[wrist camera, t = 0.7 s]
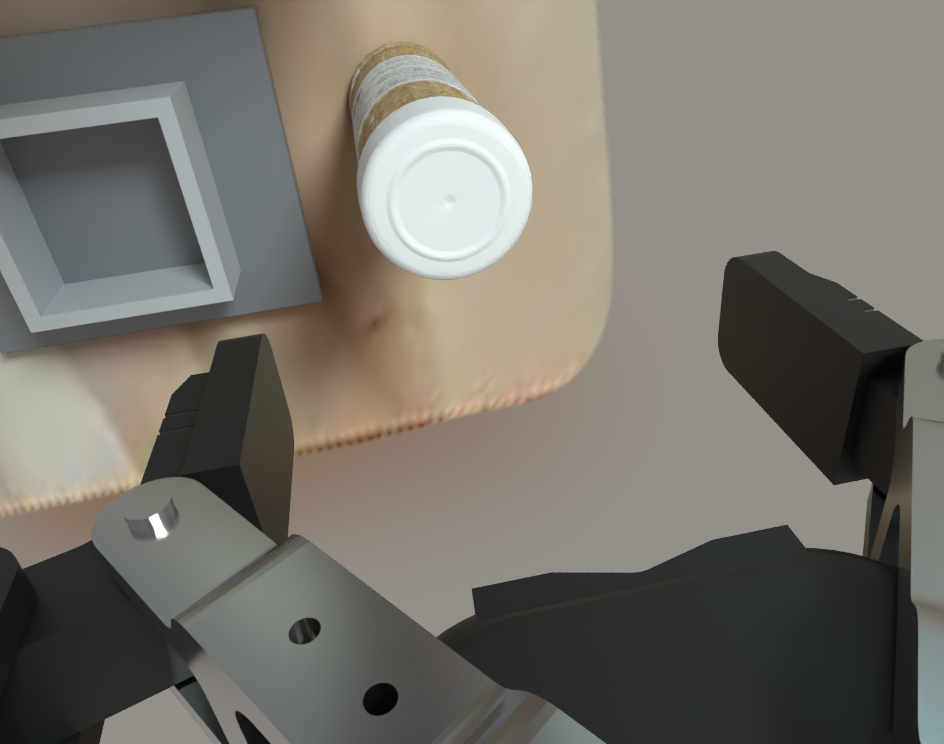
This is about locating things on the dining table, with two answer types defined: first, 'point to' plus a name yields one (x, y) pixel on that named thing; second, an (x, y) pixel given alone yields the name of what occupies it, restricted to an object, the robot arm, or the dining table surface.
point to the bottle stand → (144, 180)
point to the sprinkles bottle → (433, 167)
